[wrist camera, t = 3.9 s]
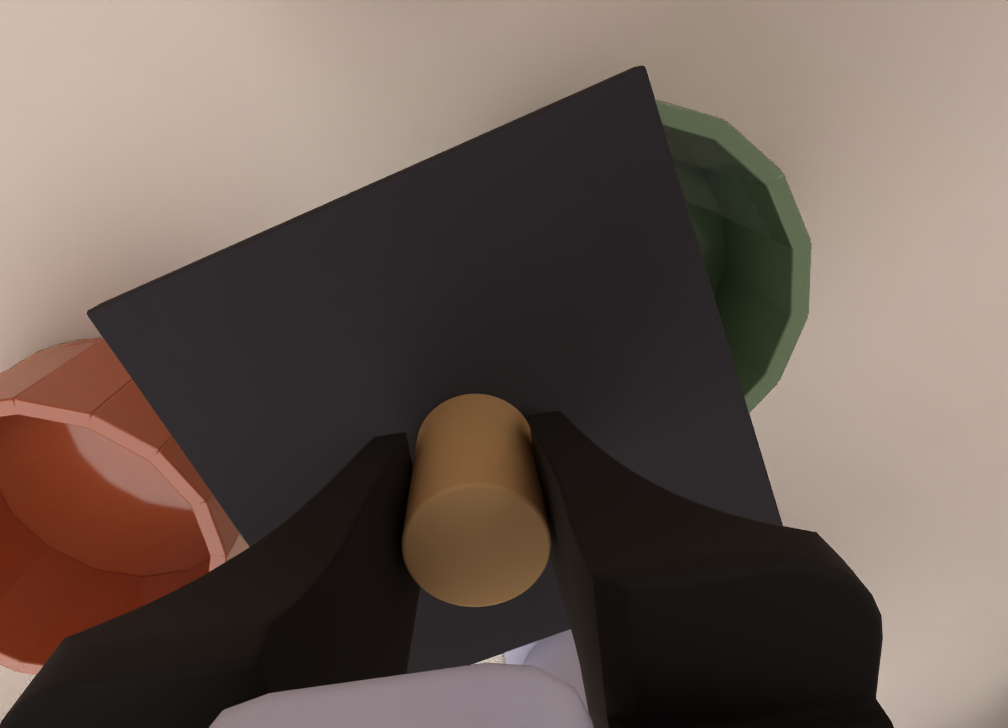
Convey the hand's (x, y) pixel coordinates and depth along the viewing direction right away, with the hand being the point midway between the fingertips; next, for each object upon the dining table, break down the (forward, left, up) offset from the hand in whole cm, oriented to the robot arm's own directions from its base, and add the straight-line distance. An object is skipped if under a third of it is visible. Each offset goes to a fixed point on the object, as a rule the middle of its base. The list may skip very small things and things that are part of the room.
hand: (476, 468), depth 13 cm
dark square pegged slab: (0, 0, -2) cm, 2 cm away
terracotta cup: (-4, +13, -10) cm, 17 cm away
